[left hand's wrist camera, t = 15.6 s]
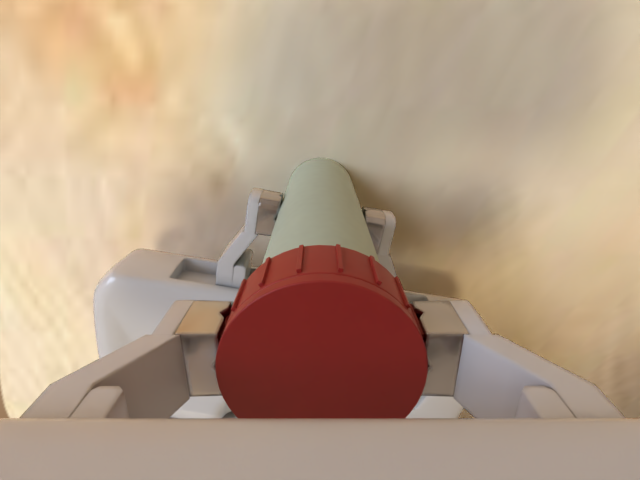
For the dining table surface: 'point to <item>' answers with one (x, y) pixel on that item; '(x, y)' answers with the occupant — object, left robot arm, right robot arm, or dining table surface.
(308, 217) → the green cylinder
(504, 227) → the dining table surface
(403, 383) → the lid
